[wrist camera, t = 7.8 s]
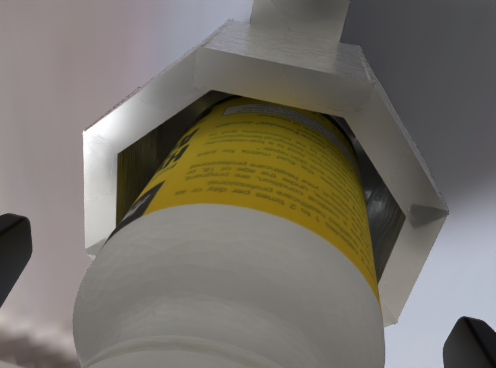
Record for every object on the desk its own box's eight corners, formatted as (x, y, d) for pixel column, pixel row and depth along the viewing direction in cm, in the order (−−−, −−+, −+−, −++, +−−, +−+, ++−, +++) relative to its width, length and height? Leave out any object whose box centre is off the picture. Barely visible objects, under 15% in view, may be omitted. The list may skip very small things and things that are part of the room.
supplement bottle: (196, 60, 12) (-84, 327, 4) (385, 110, 12) (539, 500, 4) (170, 217, 15) (-28, 581, 6) (325, 259, 15) (333, 683, 6)
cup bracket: (492, -76, 11) (593, -88, 7) (356, 278, 16) (368, 384, 12) (162, -139, 11) (76, -184, 7) (140, 229, 17) (85, 317, 13)
